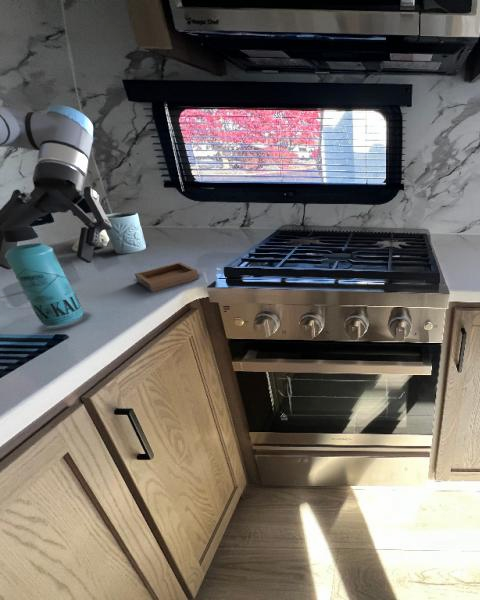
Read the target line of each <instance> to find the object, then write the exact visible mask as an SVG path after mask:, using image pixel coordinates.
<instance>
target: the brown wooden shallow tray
mask: <svg viewBox="0 0 480 600" xmlns="http://www.w3.org/2000/svg"><path fill="white" fill-rule="evenodd" d="M134 276H135V279H136V281H137V283H139V284H140V285H141V286H143V287H144V288H146V289H147V290H148V291H149V292H151V293H154V292H157V291H160V290H164V289H168V288H171V287H175V286H178V285H181V284H184V283H188V282H191V281H194V280H198V279H200V276H199V272H198V270H197V269H195V268H193V267H191V266H189V265H187V264H184V263H182V262H175V263H172V264H168V265H164V266H160V267H156V268H151V269H148V270H144V271H140V272H136V273H134Z"/></svg>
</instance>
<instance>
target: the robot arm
mask: <svg viewBox="0 0 480 600" xmlns="http://www.w3.org/2000/svg"><path fill="white" fill-rule="evenodd" d="M93 144H94V124H93V123H92V121H91V120H90V119H89V118H88V116H86V115H85V114H84V113H82V112H81V111H79V110H77V109H76V108H73V107H70V106H67V105H61V104H60V105H59V104H58V105H52V106H50V107H49V108H48V110H47V111H46V113H41V112H32V111H26V110H22V109H21V110H20V109H16V108H11V107H6V106H1V105H0V148H2V147H3V148H4V147H5V148H6V147H7V148H8V147H10V148H18V149H19V148H20V149H26V150H34V151H38V154H37V157H36V161H35V167H34V170H33V174H32V183H33V189H32V190H31V192H23V191H21V190H20V189H17V188H16V189H14V190H13V191H12V193H11V196H10V198H9V200H8V201H7V202H6V203H5V204H4V205H3V206H2V207H1V208H0V268H2V269H5V270H12V268H11V266H10V264H9V263H8V261H7V259H6V258H5V254H6V253H7V251H8V250H9V249H10V248H12V247H16V246H18V242H6V241H5V239H4V236H3V234H2V230H5V229H9V228H14V227H23V226H31V224H33V223H34V222H35V221H37V220H38V219H39V218H41V217H43V218H44V217H45V216H47V215H48V214H57V213H63V214H64V213H68V212H69V211H71V212H72V214H74V215H75V216H76V217H77V218H78V219H79V220H80V221H81V223H83V225H84V226H82V227H81V228H80V233H79V237H80V239H79V245H78V251H77V252H76V258H78V259H80V260H81V261H83V262H84V263H86V264H91V263H93V255H94V249H95V248H94V246H97V245H98V242H99V235H100V233H101V232H102V230H105V229H107V230H110V229H112V225H111V223H110V222H109V220H108V218H107V216H106V215H107V214H106V212H105V210H104V209H103V207H102V205H101V203H100V195H99V193H97V192H96V191H95V190H94V189H93V188H92V187H91V186H86V178H87V174H88V168H89V161H90V156H91V151H92V146H93ZM83 199H84V200H85V202H86V204H87V206H88V207H89V210H90V212H91V213H92V215H93V217H94V219H92V218H91V217H90V216H89V215H88V214H87V213H86V212H85V211H84V210H83V209H82V208H81V207H80V206H79V205H78V204H79V203H80V202H81V201H82V200H83ZM36 206H37V207H38V208H39V209H38V208H36ZM95 219H96V221H97V222H94V221H93V220H95ZM87 227H88V228H87ZM105 231H106V230H105Z"/></svg>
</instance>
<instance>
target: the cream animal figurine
mask: <svg viewBox="0 0 480 600" xmlns="http://www.w3.org/2000/svg"><path fill="white" fill-rule="evenodd" d="M92 220H93V221H94V222H97V221H96V219H95V218H94V219H92ZM86 228H88V227H87V226H86ZM79 239H80V236H79V237H78V238H77V239H76V241H75V243H74V244H73V246H71V249H72V251H74V252H75V253H77V251H78V245H79ZM109 241H110V239H109V237H108V235H107V232H106V230H102V232H101V233H100V235H99V242H98V245H97V246H94V249H95V248H104V247H107V245H108V243H109Z"/></svg>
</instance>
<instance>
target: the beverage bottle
mask: <svg viewBox="0 0 480 600" xmlns="http://www.w3.org/2000/svg"><path fill="white" fill-rule="evenodd" d="M2 234H3V236H4V239H5V241H6V242H17V243H18V242H25V241H31V240H35V239H37V238H39V234H38V233H37V232H36V231H35V229H34V227H33V226H31V225H29V226H23V227H14V228H9V229H5V230H2ZM5 258H6V259H7V261H8V263H9V264H10V266H11V268H12V269H11V270H12V272H13V274H14V275H15V277H16V278H15V279H16V282H18V284H19V286H20V287H21V288H22V293H23V294H24V295H25V297H26V299H27V300H28V301H29V303H30V307H31V308H32V310H33V312H34V313H35V316H36V318H37V319H38V321H39V322H40V323H41V324H42V325H44V326H46V327H53V326H60V325H65V324H67V323H70V322H71V323H72V322H73V321H75V320H78V319H79V318H80V317H82V316H83V314H84V310H83V308H82V305H81V302H80V301H79V298H78V296H77V294H76V292H74V289H73V287H72V285H71V283H70V281H69V278H68V277H67V276H66V274H65V273H64V269H63V268H62V266H61V264H60V261H59V260H58V258H57V256H56V254H55V251H54V248H53V247H52V246H49V245H46V244H44V243H41V242H39V243H37V242H36V243H35V242H34V243H27V244H21V245H20V244H19V245H17V246H16V247H12V248H10V249H9V250H8V251H7V253H6V254H5Z"/></svg>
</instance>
